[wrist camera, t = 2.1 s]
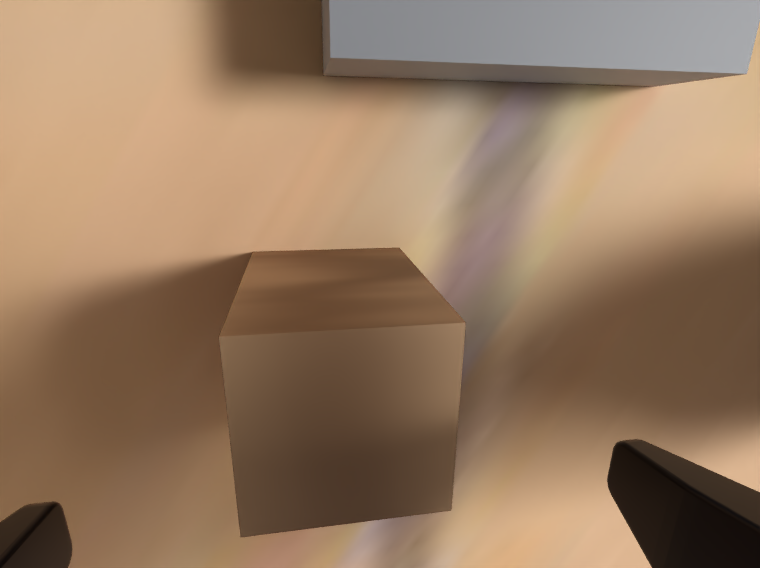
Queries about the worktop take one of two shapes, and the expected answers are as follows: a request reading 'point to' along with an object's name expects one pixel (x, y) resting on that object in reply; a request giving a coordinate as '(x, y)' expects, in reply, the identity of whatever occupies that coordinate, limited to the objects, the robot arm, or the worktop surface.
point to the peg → (340, 389)
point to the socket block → (540, 40)
